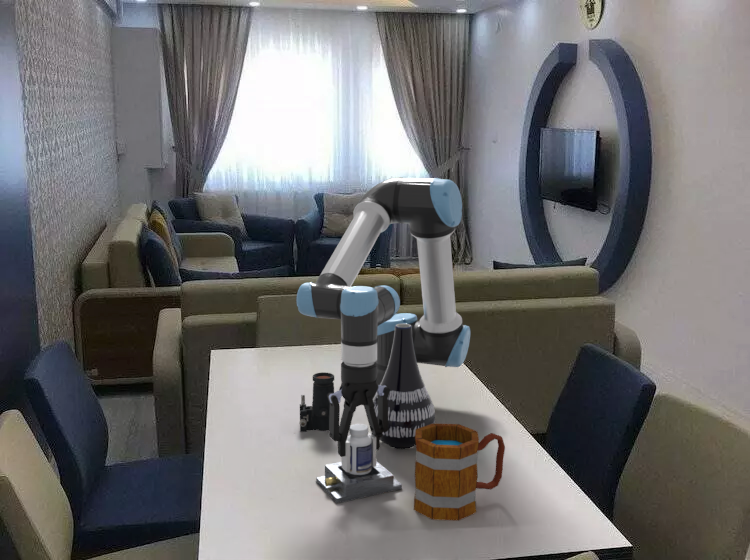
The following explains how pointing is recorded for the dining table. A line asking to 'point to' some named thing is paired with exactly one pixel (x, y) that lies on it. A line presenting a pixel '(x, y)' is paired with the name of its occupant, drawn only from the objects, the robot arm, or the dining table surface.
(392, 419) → the vase
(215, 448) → the dining table surface
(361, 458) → the pill bottle
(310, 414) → the scope
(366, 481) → the coupler block
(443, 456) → the mug
